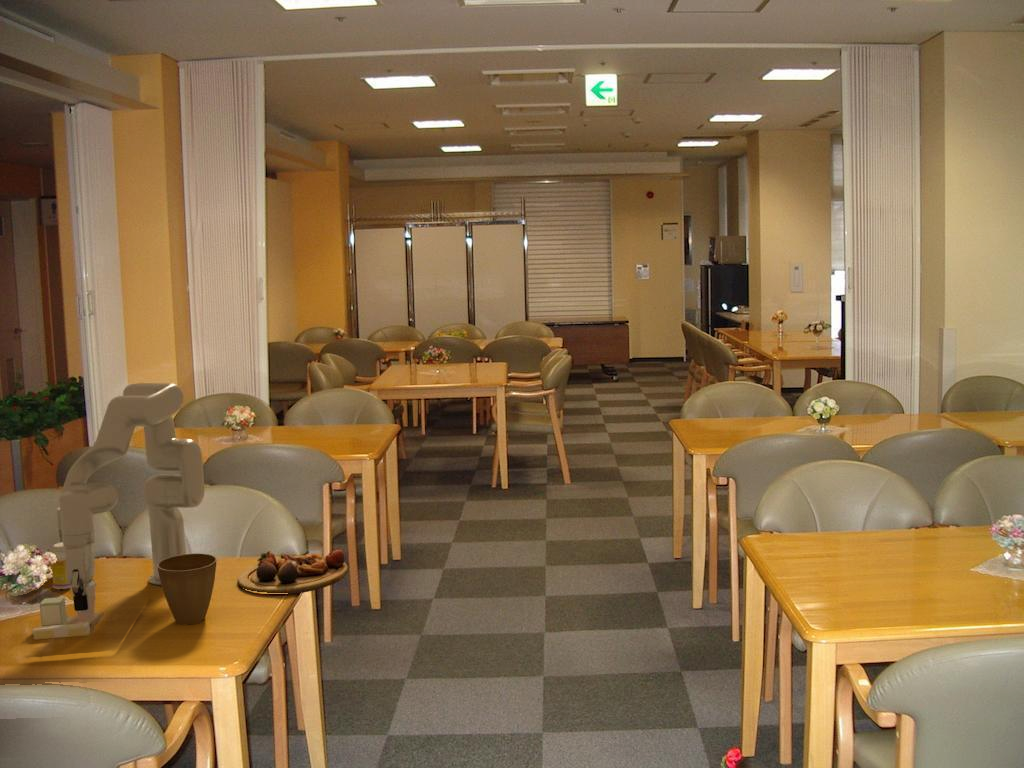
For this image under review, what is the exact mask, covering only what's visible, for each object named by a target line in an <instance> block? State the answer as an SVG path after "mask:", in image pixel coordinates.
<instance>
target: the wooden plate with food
mask: <svg viewBox="0 0 1024 768" xmlns="http://www.w3.org/2000/svg"><path fill="white" fill-rule="evenodd" d="M257 561H258V563H257V565H256V564H255V565H253V566H251V567H249V568H247V569H246V570H244V571H243V572H242V573H241V574H239V576H238V577H237V585H238V584H239V585H240V586H241V587H242V588H244V589H247V590H251V591H257V592H267V593H288V595H297V594H303V593H309V592H313V591H317V590H320V589H323V588H327V587H329V586H332V585H334V584H336V583H338V582H340V581H341V580H342V579H344V578H345V577H346V576H347V574H348V571H349V566H348V564H347V563H346V562H345V561H346V560H345V554H344V552H343V551H342V550H341V549H335V550H333V551H331V550H330V552H329V553H328V554H327V555H325V556H324V555H322V554H321V553H319V552H317V553H316V552H312V553H307V554H304V555H295V556H293V555H288V554H284V553H283V554H281V555H280V557H279V558H276V555H275V554H274V553H273V552H271V551H270V550H269V551H267V552H264V553H263V552H262V553H261V554H260V557H259V558H258V559H257ZM251 574H252V575H251ZM250 575H251V578H250V581H249V576H250ZM251 582H252V583H251ZM239 585H238V586H239Z"/></svg>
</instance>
